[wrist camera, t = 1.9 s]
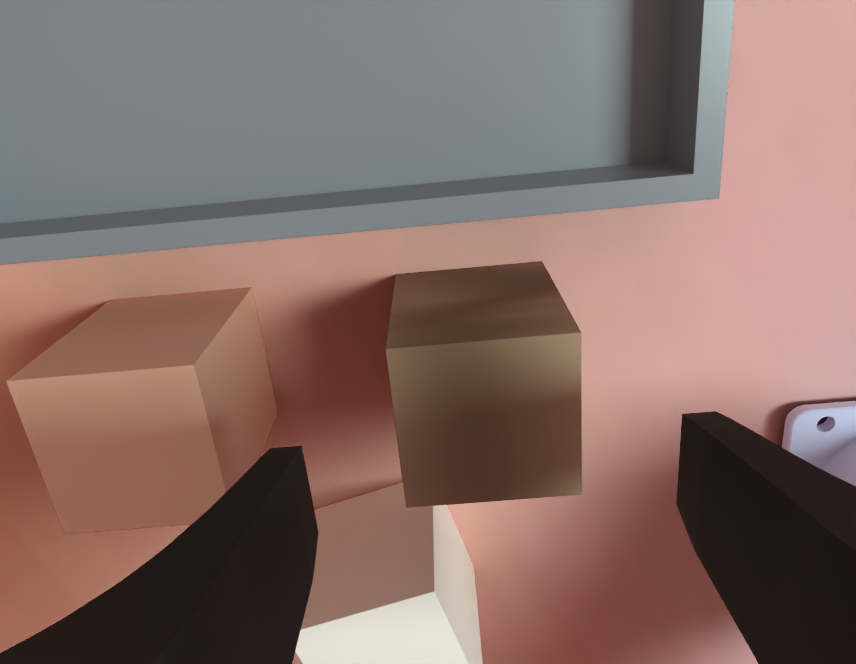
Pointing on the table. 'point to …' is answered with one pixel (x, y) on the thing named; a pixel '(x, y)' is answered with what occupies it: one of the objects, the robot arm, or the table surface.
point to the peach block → (148, 409)
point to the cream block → (390, 586)
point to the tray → (345, 116)
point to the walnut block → (484, 385)
